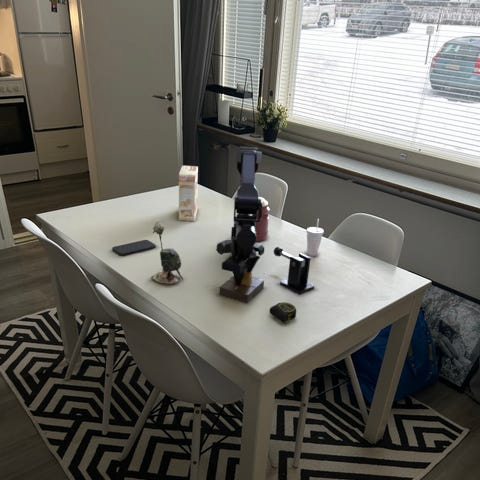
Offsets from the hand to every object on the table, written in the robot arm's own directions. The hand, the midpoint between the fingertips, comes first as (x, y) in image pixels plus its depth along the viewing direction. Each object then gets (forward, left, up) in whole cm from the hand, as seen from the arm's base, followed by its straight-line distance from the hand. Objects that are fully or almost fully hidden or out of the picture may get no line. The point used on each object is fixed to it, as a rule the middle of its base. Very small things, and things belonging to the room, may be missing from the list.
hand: (242, 281), depth 161 cm
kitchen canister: (-18, +45, -4) cm, 49 cm away
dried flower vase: (-24, -6, -4) cm, 25 cm away
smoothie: (+9, +42, -4) cm, 43 cm away
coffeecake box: (-52, +52, -4) cm, 74 cm away
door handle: (+9, +15, +4) cm, 18 cm away
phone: (-49, +9, -3) cm, 50 cm away
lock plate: (0, 0, -4) cm, 4 cm away
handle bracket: (+14, +13, -4) cm, 19 cm away
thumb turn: (0, 0, -1) cm, 1 cm away
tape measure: (+18, -9, -4) cm, 20 cm away
